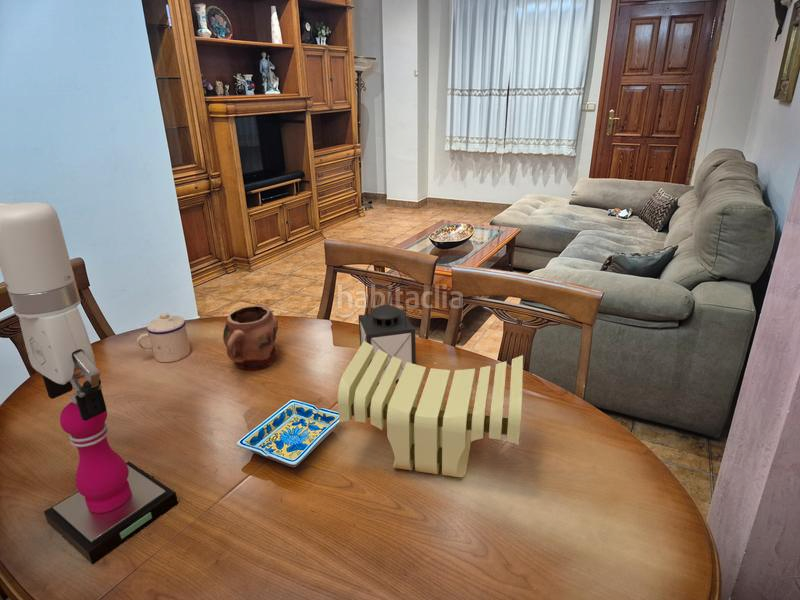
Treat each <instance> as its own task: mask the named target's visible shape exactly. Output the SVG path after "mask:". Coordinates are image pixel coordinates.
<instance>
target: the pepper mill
mask: <svg viewBox="0 0 800 600" xmlns="http://www.w3.org/2000/svg"><path fill="white" fill-rule="evenodd" d="M77 395H78V394H77V392H76V391H75V392H74V393H73V394H72V395H71V396H70V402H69V403H67V404H66V405H65V406H64V408H62V410H61V412H60V415H59V424H60V428H61V429H62V430H63V431H64V432H65V433H66V434H68V438H69V440H70V444H71V445H72V446H73V447H75V448H76V449H77V451H78V465H77V468H76V474H75V486H76V490H77V492H79V493H80V494H81V495H83V496H85V502H86V505H87V507H88V509H89V510H90V511H91V512H95V513H104V512H109V511H111V510H114V509H116V508H118V507H119V506H121V505H122V504H124V503H125V501H126V500H127V499H128V498H129V496H130V493H131V489H130V486H129V482H128V481H127V478H128V475H129V470H128V467H127V465H126V463H127V462H126V461H125V460H124V459H123V457H122V456H121V455H120V454H118V453H117V452H116V451H115V450H114V449H113V448H112V447H111V446H110V443H109V442H108V437H107V436H108V434H109V427H108V424H107V422H106V421H107V418H108V410H107V409H106V411H105V412H103V413H101V414H99V415H97V416H95V417H93V418H91V419H89V420H87V421H84V420H83V419H82V418H81V415H80V411H79V408H78V404H77V401H76V398H75V396H77Z"/></svg>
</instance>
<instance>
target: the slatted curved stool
mask: <svg viewBox="0 0 800 600" xmlns="http://www.w3.org/2000/svg"><path fill="white" fill-rule="evenodd" d="M373 355H374V346H372V345H370V344H369V343H367V342H365V341H364V342H363V343H362V345H361V346H359V348H358V349H357V351H356V353H355V355H354V356H353V357H352V359H351V360H350V362H349V363H348V365H347V367H346V368H345V370H344V371H343V373H342V374H341V378H340V381H339V384H338V390H337V411H338V421H339V423H344V422H351V420H352V418H353V417H354V422H357V423H364V424H366V423H367V421H368V418H369V419H370V425H372V426H374V427H376V428H377V429H379V430H381V431H383V428H384V427H385V424H386V438H387V439H388V441H389V444H390V446H391V449H392V452H393V455H394V456H393V457H394V460H393V464H392V467H393V468H394V469H398V470H399V469H400V470H407V471H413V469H414V470H415V472H421V473H426V474H427V473H428V474H435V475H438V474H439V472H440V469H441V474H442V476H448V477H453V478H464V477H465V476H466V473H467V469H468V463H469V457H470V449H471V445H472V442H474V441H476V440H481V439H484V435H485V434H484V433H488V439H493V440H499V441H500V440H502V435H505V436H506V442H508V443H511V444H512V443H513V444H514V445H517V446H519V444H520V433H521V421H522V406H523V405H522V404H523V378H524V377H523V375H524V373H523V372H524V371H523V370H524V354H522V355H519V356H517V357H514V358H512V359H511V368H510V385H509V386H510V387H509V399H508V415H507V417H503V416H504V415H503V413H504V400H505V387H506V378H507V377H506V375H507V360H505V361H502V362H499V363H495V369H494V379H493V388H492V394H491V395H492V396H491V405H490V412H489V413H490V414H489V415H487V406H488V398H489V397H488V396H489V390H490V389H489V388H490V379H491V367H492V365H486V366H481V367H480V369H479V373H478V380H477V386H476V392H475V398H474V404H473V409H472V413H470V412H471V404H472V398H473V391H474V387H475V381H476V368H468V369H467V368H466V369H455V370H454V373H453V377H452V381H451V386H450V389H449V393H448V398H447V401H446V405H445V400H446V399H445V398H446V394H447V389H448V386H449V381H450V378H451V370H450V369H440V368H433V367H431V368H430V369H429V373H428V375H427V378H426V381H425V384H424V387H423V383H424V380H425V377H426V374H427V367H426V366H423V365H419V364H412V363H409V362H407V363H406V365H405V367H404V370H403V372H402V374H401V377H400V379H399V381H398V383H396V380H397V377H398V375H399V372H400V370H401V367H402V360H401V359H398V358H396V357H394V356H392V358H391V360H390V362H389V364H388V366H387V368H386V370H385V373H384V375H383V377H382V379H381V381H380V383H379V385H378V382H379V379H380V377H381V374H382V372H383V370H384V368H385V365H386V363H387V361H388V354H387V353H385V352H383V351H381V350H379V349H378V351H377V352H376V354H375V356H374V358H373V360H372V361H371V359H372V357H373ZM370 361H371V363H370ZM369 363H370V365H369ZM368 365H369V367H368ZM367 367H368V368H367ZM366 369H367V370H366ZM365 371H366V372H365ZM377 385H378V386H377ZM395 385H396V386H395ZM422 387H423V390H422V393H421V389H422ZM420 393H421V396H420ZM419 396H420V397H419ZM419 398H420V399H419ZM418 400H419V401H418ZM444 405H445V408H444ZM443 409H444V410H443Z"/></svg>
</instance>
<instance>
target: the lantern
mask: <svg viewBox="0 0 800 600" xmlns="http://www.w3.org/2000/svg"><path fill="white" fill-rule="evenodd" d="M377 262H381V263H382V262H383V263H386V264H388V265H391V266H392V267H393V268H394V269H395V270H396V271H397V272H398V274H399V277H400V279H401V283H402V287H403V289H402V290H403V298H404V302H403V303H404V309H399V307H397V306H394V305H390V304H381V305H378V306H376V307H374V308H373V309H371V310H370V312H369V308H368V297H367V273H368V270H369V268H370V267H371V265H372V264H374V263H377ZM405 289H406V288H405V284H404V279H403V277H402V274H401V272H400V271H399V269H398V268H397V267H396V266H395V265H394V264H393V263H390V261H389V262H388V261H385V260H374V261H373V262H371V263H370V264H369V265H368V266H367V268H366V271H365V275H364V293H365V294H364V295H365V301H366V302H365V303H366V314H358V315H357V317H358V332H359V345H360V346H361V345H362V343H363V342H364V341H365V342H367V343H369V344H370V345H372V346H374V355H373V357H372V359H371V361H372V360H373V358H374V356H375V354H376V352H377V351H378V349H379V350H381V351H383V352H385V353H387V354H388V361H387V363H386V365H385V368H384V370H383V372H382V374H381V377H380V379H379V382H378V385H379V383H380V381H381V379H382V377H383V375H384V373H385V370H386V368H387V366H388V364H389V362H390V360H391V358H392V356H394V357H396V358H398V359H401V360H402V367H401V370H400V372H399V375H398V377H397V380H396V383H395V384H397V383H398V381H399V379H400V377H401V374H402V372H403V370H404V367H405V365H406V363H407V362H409V363H412V364H416V362H417V361H416V360H417V359H416V328H415V327H414V326H413V324H412V323H411V321H410V320H409V318H408V316H407V308H406V307H407V305H406V290H405ZM360 346H359V347H360ZM371 361H370V363H371ZM370 363H369V365H370ZM369 365H368V367H369ZM416 365H417V364H416ZM368 367H367V368H368ZM366 370H367V369H366ZM365 372H366V371H365ZM378 385H377V387H378Z"/></svg>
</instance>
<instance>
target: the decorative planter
mask: <svg viewBox="0 0 800 600" xmlns="http://www.w3.org/2000/svg"><path fill="white" fill-rule="evenodd" d="M225 322H226V323H225V326H224V328H223V332H222V333H223V334H222V335H223V336H222V338H223V343H224V345H225V347H226V355H227V357H228V358H229V359H230V360H231V361H232V362H233V363H234V365H235V366H236V367H237V368H238V369H241V370H245V371H256V370H262V369H265V368H267V367H268V366H270V365H272V364H273V362H274V361H275V359H276V358H277V352H276V345H275V342H276V339H277V333H278V331H279V320H278V318H277V317H276V316H275V315H274V314H273V312H272V311H271V309H270V307H269V306H268V305H265V304H254V305H250V306H249V305H247V306H243V307H239V309H236V310H235V311H233V312H231V313H230V314H229V315H228V316H227V318H226V321H225Z"/></svg>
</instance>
